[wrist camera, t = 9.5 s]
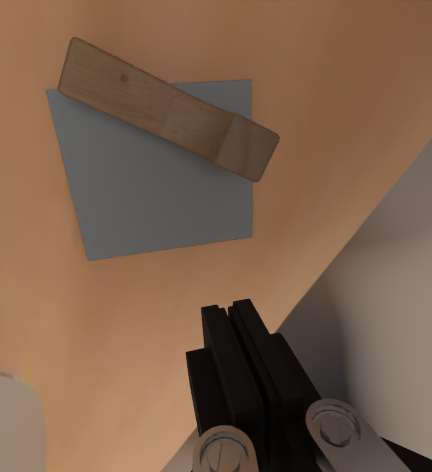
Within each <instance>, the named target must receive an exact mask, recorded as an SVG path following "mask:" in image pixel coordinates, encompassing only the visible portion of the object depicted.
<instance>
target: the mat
mask: <svg viewBox="0 0 432 472" xmlns="http://www.w3.org/2000/svg"><path fill="white" fill-rule="evenodd" d="M170 85H172V86H174V87H176V88H178V89H180V90H182V91H184V92H186V93H188V94H190V95H192V96H194V97H196V98H198V99H200V100H202V101H204V102H206V103H209V104H211V105H213V106H216V107H218V108H220V109H223V110H225V111H228V112H232V113H236V114H239V115H241V116H243V117H245V118H247V119H249V120H251V80H235V81H215V82H195V83H175V84H170ZM46 93H47V97H48V101H49V105H50V109H51V113H52V117H53V122H54V126H55V130H56V134H57V138H58V142H59V146H60V150H61V154H62V158H63V162H64V166H65V170H66V174H67V178H68V182H69V186H70V190H71V194H72V198H73V202H74V206H75V210H76V214H77V218H78V222H79V226H80V230H81V234H82V239H83V243H84V247H85V251H86V255H87V259H88V261H91V260H98V259H104V258H111V257H118V256H125V255H132V254H139V253H146V252H152V251H159V250H166V249H173V248H180V247H187V246H193V245H200V244H207V243H214V242H221V241H228V240H235V239H241V238H248V237H252V181H250V180H248V179H246V178H243V177H241V176H239V175H236V174H234V173H232V172H229V171H227V170H225V169H222V168H220V167H218V166H216V165H215V164H213V163H211V162H210V161H208V160H207V159H205V158H203V157H201V156H199V155H197V154H195V153H193V152H191V151H189V150H187V149H185V148H183V147H181V146H178V145H176V144H174V143H172V142H170V141H167V140H165V139H163V138H161V137H158V136H156V135H154V134H151V133H149V132H147V131H145V130H142V129H140V128H138V127H135V126H133V125H131V124H129V123H126V122H124V121H122V120H120V119H117V118H115V117H113V116H110V115H108V114H106V113H104V112H101V111H99V110H97V109H94V108H92V107H90V106H88V105H85V104H83V103H81V102H78V101H76V100H74V99H72V98H69V97H67V96H65V95H62V94H61V93H60V92H59V91H58V89H55V90H46Z"/></svg>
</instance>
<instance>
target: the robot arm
mask: <svg viewBox="0 0 432 472" xmlns="http://www.w3.org/2000/svg"><path fill="white" fill-rule="evenodd" d="M201 314H202V325H203V337H204V348H203V349H198V350H193V351H188V352H186V360H187V368H188V375H189V382H190V388H191V394H192V400H193V405H194V411H195V416H196V422H197V427H198V432H199V439H198V441H197V443H196V445H195V447H194V452H193V469H192V471H191V472H432V460H431V459H429V458H427V457H424V456H422V455H420V454H418V453H415V452H413V451H411V450H409V449H407V448H404V447H402V446H399V445H398V444H395V443H393V442H391V441H389V440H386V439H384V438H382V437H380V436H378V434H377V433H376V432H375V431H374V430H373V428H372V427H371V426H370V425H369V424H368V423H367V422H366V421H365V419H364V418H363V417H362V416H361V415H360V414H359V413H358V412H357V411H356V410H355V409H354V408H352V407H351V406H349V405H347V404H346V403H344V402H342V401H338V400H335V399H322V398H321V397H320V395H319V394H318V392H317V390H316V389H315V387H314V385H313V384H312V382H311V381H310V379H309V377H308V376H307V374H306V373H305V371H304V369H303V368H302V366H301V365H300V363H299V361H298V360H297V358H296V356H295V355H294V353H293V351H292V350H291V348H290V347H289V345H288V343H287V342H286V340H285V339H284V337H283V336H282V334H280V333H275V334H269V332H268V330H267V328H266V326H265V325H264V323H263V321H262V319H261V318H260V316H259V314H258V312H257V311H256V309H255V307H254V305H253V304H252V302H251V300H250V299H244V300H239V301H234V302H233V306H230V307H228V315H227V313H226V311H225V308H219V307H218V305H212V306H206V307H201Z"/></svg>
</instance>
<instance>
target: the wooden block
mask: <svg viewBox="0 0 432 472" xmlns="http://www.w3.org/2000/svg"><path fill="white" fill-rule="evenodd" d="M58 91H59V92H60V93H61V94H62V95H65V96H67V97H69V98H72V99H74V100H76V101H78V102H81V103H83V104H85V105H88V106H90V107H92V108H94V109H97V110H99V111H101V112H104V113H106V114H108V115H110V116H113V117H115V118H117V119H120V120H122V121H124V122H126V123H129V124H131V125H133V126H135V127H138V128H140V129H142V130H145V131H147V132H149V133H151V134H154V135H156V136H158V137H161V138H163V139H165V140H167V141H170V142H172V143H174V144H176V145H178V146H181V147H183V148H185V149H187V150H189V151H191V152H193V153H195V154H197V155H199V156H201V157H203V158H205V159H207V160H208V161H210V162H211V163H213V164H215V165H216V166H218V167H220V168H222V169H225V170H227V171H229V172H232V173H234V174H236V175H239V176H241V177H243V178H246V179H248V180H250V181H252V182H259V181H260V179H261V177H262V175H263V173H264V171H265V169H266V167H267V165H268V162H269V160H270V158H271V156H272V154H273V152H274V150H275V148H276V146H277V144H278V142H279V139H280V137H279V135H278V134H277V133H275V132H273V131H271V130H269V129H267V128H265V127H263V126H261V125H259V124H257V123H255V122H253V121H251V120H249V119H247V118H245V117H243V116H241V115H239V114H236V113H232V112H228V111H225V110H223V109H220V108H218V107H216V106H213V105H211V104H209V103H206V102H204V101H202V100H200V99H198V98H196V97H194V96H192V95H190V94H188V93H186V92H184V91H182V90H180V89H178V88H176V87H174V86H172V85H170V84H168V83H166V82H164V81H162V80H160V79H158V78H156V77H154V76H152V75H150V74H148V73H146V72H144V71H142V70H140V69H138V68H136V67H134V66H132V65H130V64H128V63H126V62H124V61H122V60H121V59H119V58H117V57H115V56H113V55H111V54H109V53H107V52H105V51H103V50H101V49H99V48H97V47H95V46H93V45H91V44H89V43H87V42H85V41H83V40H81V39H79V38H76V37H73V38H72V39H71V40H70V44H69V48H68V52H67V55H66V59H65V63H64V66H63V70H62V74H61V77H60V81H59V85H58Z"/></svg>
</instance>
